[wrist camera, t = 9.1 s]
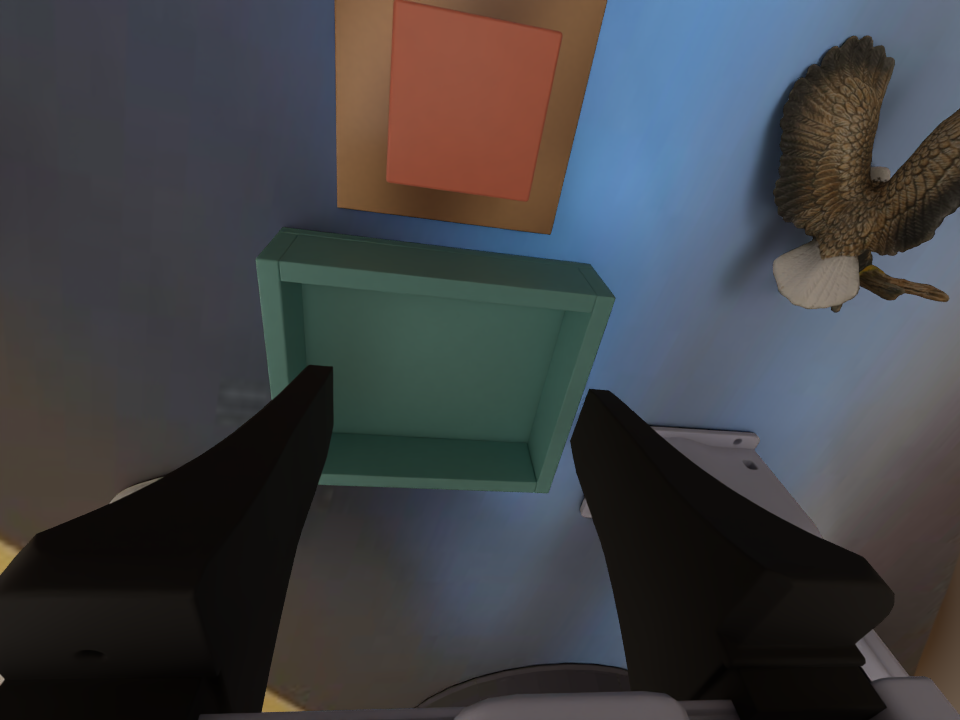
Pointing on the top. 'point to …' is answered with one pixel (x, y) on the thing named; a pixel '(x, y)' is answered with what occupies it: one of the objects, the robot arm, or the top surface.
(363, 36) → the coaster
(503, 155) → the block
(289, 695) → the top surface
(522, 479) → the bin
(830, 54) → the eagle figurine
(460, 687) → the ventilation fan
